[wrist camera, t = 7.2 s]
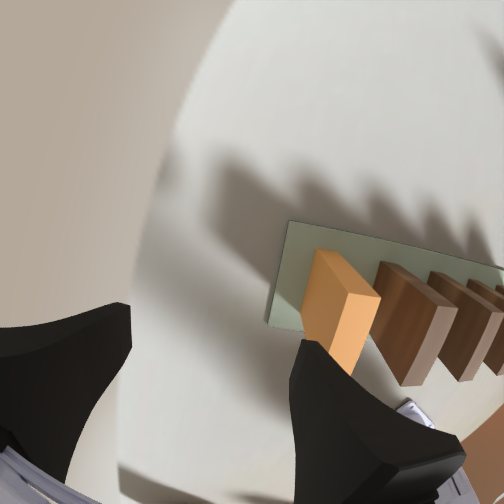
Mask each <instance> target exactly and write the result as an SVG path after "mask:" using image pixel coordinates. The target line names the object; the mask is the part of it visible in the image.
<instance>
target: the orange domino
mask: <svg viewBox="0 0 504 504" xmlns="http://www.w3.org/2000/svg"><path fill="white" fill-rule="evenodd" d="M380 300H381V297H380V296H379V295H378V294H377V293H376V292H375V290H374V289H373V288H372V287H371V286H370V285H369V284H368V283H367V282H366V281H365V280H364V279H363V278H362V277H361V275H360V274H359V273H358V272H357V271H356V270H355V269H354V268H353V267H352V266H351V265H350V264H349V263H348V262H347V261H346V260H345V259H344V258H343V257H342V256H341V255H340V254H339V253H338V252H335V251H330V250H325V249H319V248H316V250H315V255H314V259H313V263H312V267H311V272H310V276H309V280H308V284H307V288H306V292H305V296H304V299H303V303H302V307H301V311H300V316H301V320H302V324H303V328H304V333H305V337H306V340H313V341H318V342H319V343H320V344H321V345H322V346H323V347H324V349H325V350H326V351H327V352H328V353H329V354H330V355H331V356H332V357H333V359H334V360H335V361H336V362H337V363H338V364H339V365H340V366H341V367H342V368H343V369H344V370H345V371H346V372H347V373H348V374H349V375H350V376H351V374H352V371H353V369H354V367H355V365H356V362H357V360H358V358H359V355H360V353H361V351H362V348H363V346H364V343H365V341H366V338H367V336H368V333H369V331H370V328H371V325H372V323H373V320H374V317H375V315H376V312H377V309H378V306H379V303H380Z"/></svg>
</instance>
